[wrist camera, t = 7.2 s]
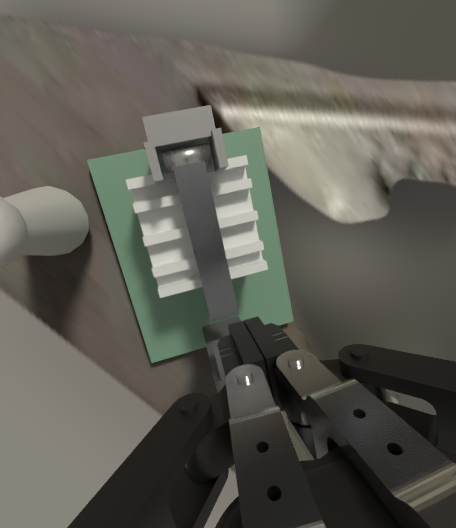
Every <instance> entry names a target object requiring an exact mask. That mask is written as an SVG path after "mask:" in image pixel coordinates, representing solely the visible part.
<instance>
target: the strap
mask: <svg viewBox="0 0 456 528" xmlns="http://www.w3.org/2000/svg"><path fill="white" fill-rule="evenodd" d="M161 154H162V158H163V162H164V166H165V170H166V173H170V172H174V176H175V180H176V184H177V188H178V192H179V196H180V200H181V204H182V208H183V212H184V216H185V220H186V224H187V228H188V232H189V236H190V240H191V244H192V248H193V252H194V255H195V259H196V263H197V267H198V271H199V275H200V279H201V283H202V287H203V291H204V295H205V299H206V303H207V307H208V311H209V315H210V319H211V322H214V321H218V320H222V319H225V318H229V317H232V316H236V315H239V312H238V308H237V303H236V299H235V294H234V290H233V285H232V281H231V276H230V272H229V267H228V263H227V258H226V254H225V249H224V245H223V241H222V236H221V232H220V227H219V223H218V218H217V214H216V209H215V205H214V200H213V196H212V191H211V187H210V182H209V178H208V173H207V169H206V165H209V164H212V156H211V151H210V147H209V144H208V143H202V144H197V145H192V146H187V147H182V148H177V149H172V150H167V151H161Z"/></svg>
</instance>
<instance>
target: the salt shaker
mask: <svg viewBox="0 0 456 528" xmlns="http://www.w3.org/2000/svg"><path fill="white" fill-rule="evenodd" d="M88 231H89V220H88V214H87V213H86V211H85V209H84V207H83V205H82V203H81V202H80V201H79V200H78V199H76V198H75V197H74V196H72V195H71V194H70V193H68V192H67V191H64V190H61V189H57V188H54V187H51V186H46V187H41V188H35V189H31V190H27V191H24V192H21V193H18V194H15V195H12V196H9V197H6V198H2V197H0V268H2V267H4V266H6V265H8V264H9V263H10V262H12V261H13V260H14V259H16V258H17V257H18V256H20V255H41V256H56V255H61V254H67V253H70V252H71V251H73V250H74V249H76V248H77V247H78V246H80V245H81V244H82V243H83V242H84V239H85V237H86V235H87V233H88Z"/></svg>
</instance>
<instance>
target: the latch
mask: <svg viewBox="0 0 456 528" xmlns="http://www.w3.org/2000/svg"><path fill="white" fill-rule="evenodd" d="M239 321H241V320H240V318H239V316H238V317H234V318H231V319H227V320H224V321H220V322H217V323H213V324H210V325H206V326H203V327H202V329H203V334H204V338H205V342H206V347H207V351H208V356H209V360H210V365H211V369H212V374H213V378H214V383H215V387H216V390H217V393H218V392H220V391H221V390H222V388H223V387H224V385H225V383H226V377H225V373H224V369H223V365H222V361H221V358H220V354H219V350H218V346H217V344H218V341H219V339H220V338H221V337H225V336H228V335H230V333H229V329H228V325H229V324H232V323H236V322H239Z"/></svg>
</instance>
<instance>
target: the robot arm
mask: <svg viewBox="0 0 456 528" xmlns="http://www.w3.org/2000/svg"><path fill="white" fill-rule="evenodd" d="M228 329H229V333H230V335H228V336H225V337H221V338H220V339H219V341H218V344H217V346H218V350H219V354H220V358H221V361H222V365H223V369H224V373H225V377H226V383H225V385H224V387H223V388H222V390H221V391H220V392H218V393H217V394H216V395H214V396H213V397H211V398H208V397H207V396H206V395H204V394H201V393H192V394H188V395H185V396H183V397H181V398H180V399H178V400H177V401H176V402H175V403H174V404H173V405H172V406H171V407H170V408H169V409H168V411H167V412H166V413H165V414H164V415H163V416H162V418H161V419H160V420H159V421H158V422H157V424H156V425H155V426H154V427H153V428H152V429H151V431H150V432H149V433H148V434H147V435H146V436H145V438H144V439H143V440H142V441H141V442H140V443H139V444H138V446H137V447H136V448H135V449H134V450H133V452H132V453H131V454H130V455H129V456H128V457H127V459H126V460H125V461H124V462H123V463H122V464H121V465H120V467H119V468H118V469H117V470H116V471H115V472H114V474H113V475H112V476H111V477H110V478H109V479H108V481H107V482H106V483H105V484H104V485H103V487H102V488H101V489H100V490H99V491H98V492H97V494H96V495H95V496H94V497H93V498H92V499H91V501H90V502H89V503H88V504H87V505H86V506H85V508H84V509H83V510H82V511H81V512H80V513H79V515H78V516H77V517H76V518H75V519H74V520H73V522H72V523H71V524H70V525H69V526H68V528H204V526H205V524H206V522H207V519H208V518H209V516H210V513H211V511H212V509H213V507H214V505H215V503H216V501H217V499H218V497H219V495H220V493H221V491H222V488H223V487H224V485H225V482H226V480H227V478H228V471H229V470H228V468H230V467H231V466H232V465H234V464H235V472H236V480H237V487H238V494H239V496H238V497H237V498H236V499H235V500H234V501H233V502H232V503H231V504H230V505H229V506H228V508H227V509H226V510H225V512H224V513H223V515H222V516H221V518H220V520H219V522H218V523H217V525H216V527H215V528H456V362H454V361H448V360H443V359H438V358H433V357H427V356H422V355H417V354H412V353H406V352H401V351H396V350H391V349H385V348H380V347H375V346H370V345H364V344H352V345H348V346H345V347H343V348H342V349H341V350H340V351H339V353H338V356H339V359H336V360H322V361H321V360H318V359H316V358H315V357H314V356H313V355H312V354H311V353H309V352H307V351H304V350H299V349H298V348H297V347H296V345H295V344H294V343H293V342H292V341H291V339H290V338H289V337H288V336H287V335H286V333H284V331H283V330H282V329H281V327H280V326H278V325H275V324H273V323H269V324H266V325H264V324H263V322H262V321H261V319H260V318H259V317H258V316H257V317H253V318H250V319H246V320H243V321H239V322H236V323H232V324H229V325H228ZM386 389H389V390H392V391H396V392H399V393H403V394H407V395H410V396H414V397H418V398H421V399H424V400H426V401H427V402H429V403H430V404H431V405H433V407H434V408H435V410H436V413H437V415H430V414H427V413H424V412H421V411H417V410H414V409H411V408H407V407H404V406H401V405H398V404H395V403H391V402H388V401H387V399H386ZM283 410H285V412H286V414H287V418H288V423H289V427H290V429H291V431H292V432H293V434H294V436H295V437H296V439H297V441H298V442H299V444H300V446H301V447H302V449H303V451H304V452H305V454H306V455H307V457H308V459H309V460H308V461H300V460H299V457H298V455H297V452H296V450H295V447H294V444H293V442H292V439H291V437H290V434H289V431H288V429H287V426H286V424H285V421H284V418H283V416H282V413H281V411H283Z"/></svg>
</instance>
